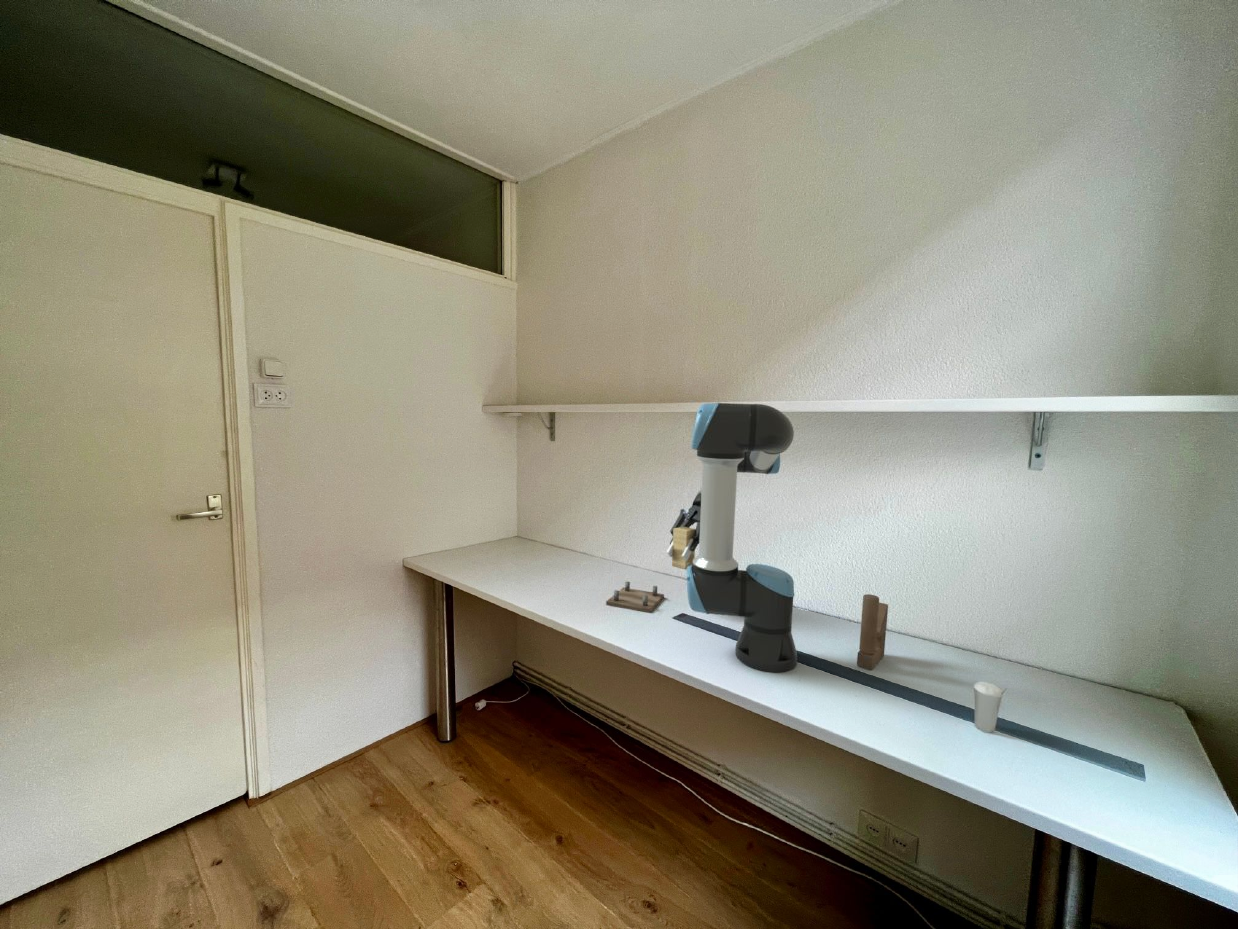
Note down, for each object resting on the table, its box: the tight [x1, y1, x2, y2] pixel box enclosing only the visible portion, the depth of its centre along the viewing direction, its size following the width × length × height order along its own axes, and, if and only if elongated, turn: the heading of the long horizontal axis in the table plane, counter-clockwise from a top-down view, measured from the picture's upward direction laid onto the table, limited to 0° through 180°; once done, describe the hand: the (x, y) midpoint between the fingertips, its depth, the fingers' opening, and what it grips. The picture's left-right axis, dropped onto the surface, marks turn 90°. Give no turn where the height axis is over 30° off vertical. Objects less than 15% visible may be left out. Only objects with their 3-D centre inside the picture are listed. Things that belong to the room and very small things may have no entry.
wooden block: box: [856, 593, 889, 671], centre depth 125 cm, size 4×11×18 cm, turn 137°
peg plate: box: [605, 581, 665, 614], centre depth 163 cm, size 15×15×4 cm
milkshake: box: [973, 681, 1007, 734], centre depth 98 cm, size 5×5×10 cm
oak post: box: [671, 527, 696, 570], centre depth 154 cm, size 5×5×12 cm
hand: (676, 556), depth 152 cm, fingers closed on oak post, 5 cm apart
